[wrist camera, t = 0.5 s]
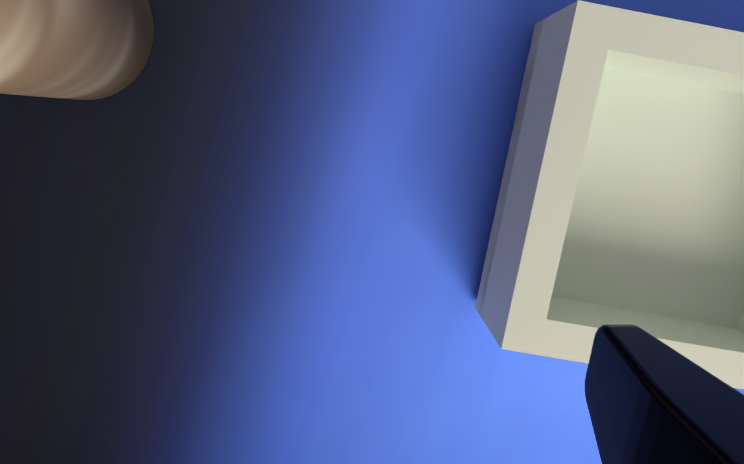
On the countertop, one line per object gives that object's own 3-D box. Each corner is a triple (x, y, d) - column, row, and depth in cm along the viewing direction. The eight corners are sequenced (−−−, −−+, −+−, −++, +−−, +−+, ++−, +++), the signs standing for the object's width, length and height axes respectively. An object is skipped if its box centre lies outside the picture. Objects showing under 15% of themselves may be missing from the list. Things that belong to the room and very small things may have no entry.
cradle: (740, 352, 22) (824, 402, 18) (475, 307, 22) (501, 348, 18) (817, 78, 21) (926, 68, 17) (534, 24, 20) (578, 0, 16)
